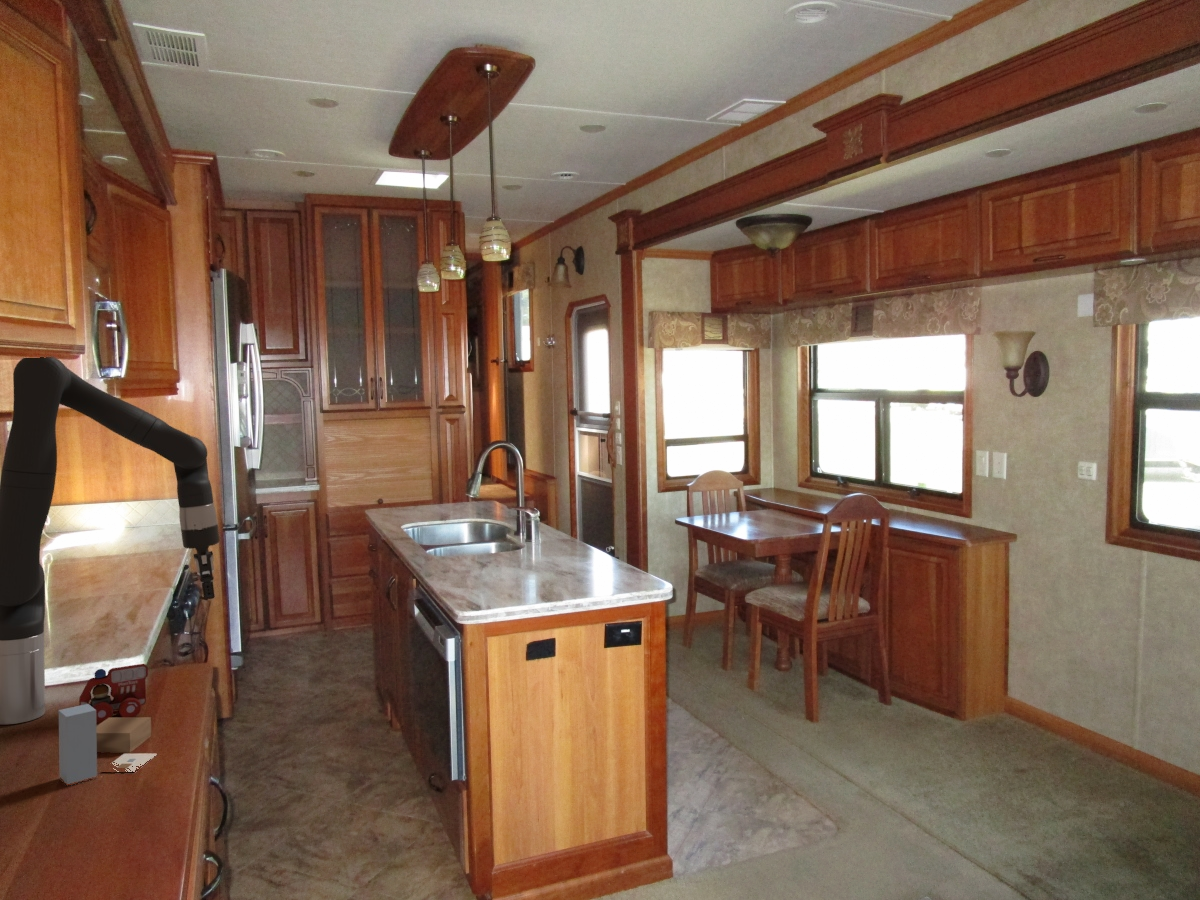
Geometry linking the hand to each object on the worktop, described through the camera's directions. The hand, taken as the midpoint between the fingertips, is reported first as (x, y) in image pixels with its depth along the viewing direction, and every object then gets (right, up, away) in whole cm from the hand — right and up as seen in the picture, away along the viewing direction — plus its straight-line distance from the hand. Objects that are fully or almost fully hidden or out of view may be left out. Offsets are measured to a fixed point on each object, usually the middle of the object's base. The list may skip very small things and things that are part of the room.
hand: (208, 594), depth 189 cm
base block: (-3, -24, -30) cm, 38 cm away
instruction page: (+4, -24, -39) cm, 45 cm away
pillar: (-2, -24, -45) cm, 51 cm away
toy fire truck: (-13, -23, -15) cm, 30 cm away
